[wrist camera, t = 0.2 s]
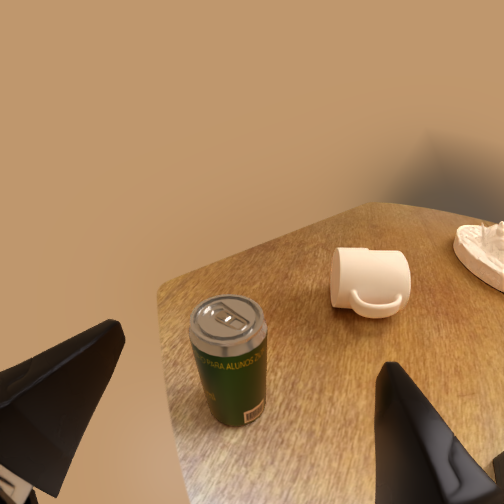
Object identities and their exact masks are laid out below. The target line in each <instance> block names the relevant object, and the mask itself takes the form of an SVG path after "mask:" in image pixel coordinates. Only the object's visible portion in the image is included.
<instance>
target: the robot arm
mask: <svg viewBox="0 0 504 504" xmlns="http://www.w3.org/2000/svg"><path fill="white" fill-rule="evenodd" d="M124 344H125V336H124V333H123V330H122V327H121V324H120V322H119V321H116V320H113V319H108V320H106V321H104V322H102V323H100V324H98V325H96V326H94V327H92V328H90V329H88V330H86V331H84V332H82V333H80V334H78V335H76V336H74V337H72V338H70V339H68V340H66V341H64V342H62V343H60V344H58V345H56V346H54V347H52V348H50V349H48V350H46V351H44V352H42V353H40V354H38V355H36V356H34V357H33V358H30V359H28V360H26V361H24V362H22V363H20V364H18V365H16V366H14V367H11V368H9V369H6V370H4V371H1V372H0V504H38V501H37V497H36V494H35V491H34V490H33V489H32V488H33V487H34V486H35V487H36V488H38V489H40V490H41V491H43V492H45V493H47V494H49V495H51V496H53V497H55V498H57V496H58V494H59V491H60V489H61V486H62V483H63V481H64V478H65V476H66V474H67V471H68V469H69V466H70V464H71V461H72V459H73V457H74V454H75V452H76V449H77V447H78V445H79V443H80V441H81V438H82V436H83V434H84V432H85V430H86V428H87V425H88V423H89V421H90V419H91V417H92V415H93V413H94V411H95V409H96V407H97V405H98V403H99V401H100V398H101V397H102V394H103V393H104V391H105V389H106V387H107V385H108V383H109V381H110V379H111V377H112V374H113V372H114V369H115V367H116V364H117V362H118V359H119V356H120V354H121V351H122V349H123V347H124ZM374 430H375V454H376V493H375V504H504V489H503V488H501V487H499V486H498V485H497V484H496V483H495V482H494V481H493V480H492V479H491V478H490V477H489V476H488V475H487V474H486V472H485V471H484V470H483V469H482V468H481V467H480V466H479V465H478V464H477V463H476V461H475V460H474V459H473V458H472V457H471V456H470V454H469V453H468V452H467V451H466V449H465V448H464V447H463V445H462V444H461V443H460V441H459V440H458V439H457V437H456V436H454V433H453V432H452V431H451V429H450V428H449V427H448V425H447V424H446V423H445V421H444V420H443V419H442V417H441V416H440V415H439V413H438V412H437V411H436V410H435V408H434V407H433V406H432V404H431V403H430V402H429V401H428V399H427V398H426V397H425V395H424V394H423V393H422V392H421V390H420V389H419V388H418V387H417V385H416V384H415V383H414V382H413V380H412V379H411V378H410V377H409V375H408V374H407V373H406V372H405V370H404V369H403V368H402V367H401V366H400V364H399V363H398V362H385V363H384V365H383V367H382V369H381V371H380V373H379V374H378V376H377V379H376V390H375V417H374Z"/></svg>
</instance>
